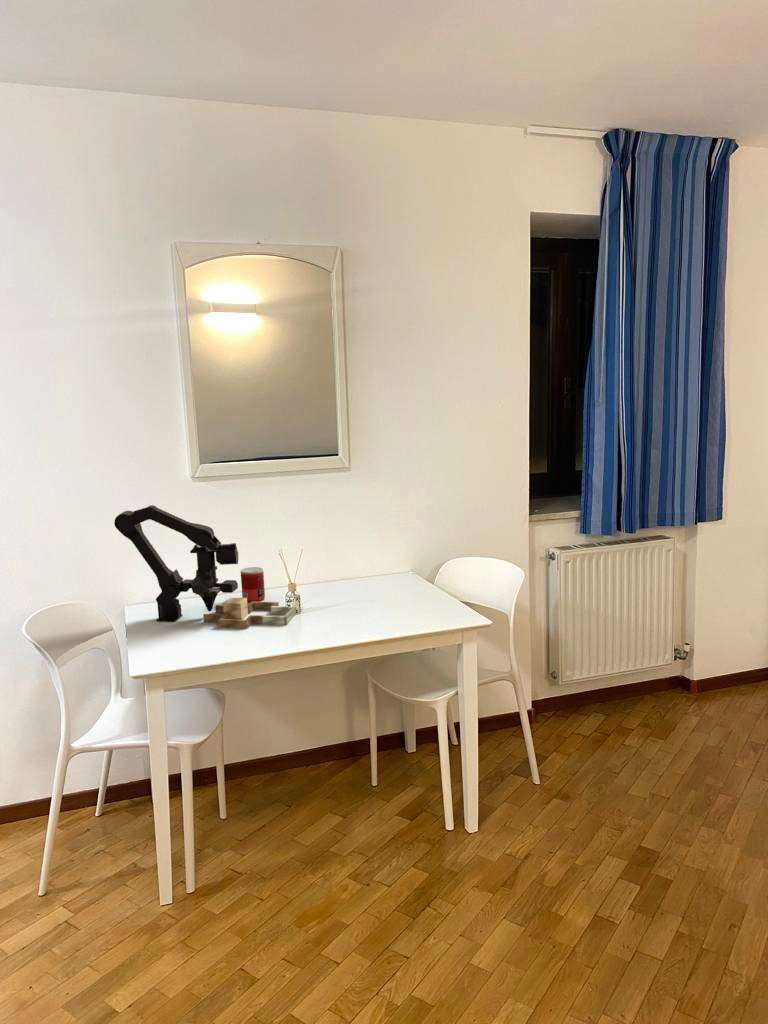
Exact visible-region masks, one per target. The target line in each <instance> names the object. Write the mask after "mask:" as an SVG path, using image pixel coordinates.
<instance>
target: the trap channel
mask: <svg viewBox="0 0 768 1024" xmlns="http://www.w3.org/2000/svg"><path fill="white" fill-rule="evenodd" d="M247 606H248V616H247V617H246V618H244V619H243V620H239V619H228V615H224V610H223V604H214V607H215V613H213V614H212V613H203V623H214V624H215V623H218V628H225V629H226V628H227V629H249V628H250V627H251V626H252V625H254V624H255V625H256V624H257V625H280V626H281V625H283V626H287V625H288V624H289V623H290V622H291V621H292V620H293V619H294V618H295V616H296V615H298V614H297V613H296V610H297V606H289V607H287V606H285V605H284V606H282V605H280V603H279V601H260V602H253V601H252V602H251V603H247ZM256 610H258V611H259V610H261V611H262V610H263V611H270V614H271V615H258V614H257V615H256V614H255V615H254V614H251V613H252V612H253V611H256Z"/></svg>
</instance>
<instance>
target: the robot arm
mask: <svg viewBox="0 0 768 1024" xmlns="http://www.w3.org/2000/svg"><path fill="white" fill-rule="evenodd" d="M149 520H151V521H153V522H155V523H158V524H159V525H162V526H165V527H166V528H168V529H171V530H173V531H175V532H178V533H180V534H181V535H183V536H185V537H186V538H187V539H188V540H189V541H190V542H192V543H193V544H195V545H194V546H193V548H192V549H191V550H190V551H189V553H190V554H196V562H197V563H196V564H197V569H196V570H195V571H196V572H195V574H196V575H195V577H193V579H189V578H188V579H187V578H186V579H184V578H183V577H182V576H181V574H180V573H179V571H178V569H175V570H171V569H170V568H169V567H168V566H167V565H166V563H165V562H164V560H163V559H162V557H161V556H160V555H159V553H158V552H157V551H156V549H155V547H154V546H153V545H152V543H151V542H150V540H149V539H148V538H147V537H146V535H145V533H144V531H143V527H142V524H141V523H143V522H146V521H149ZM113 525H114V527H115V528H116V530H117V531H119V533H120V534H121V535H122V536H124V537H125V538H127V539H128V540H129V541H130V542H131V543H132V544H133V545H134V547H135V548H136V550H137V551H138V552H139V554H140V555H141V557H142V558H143V559H144V560H145V562H146V564H147V565H148V566H149V568H150V570H152V572H153V573H154V575H155V577H156V579H157V583H158V586H159V588H160V590H161V592H160V593H159V594H158V595H157V596H156V598H155V601H156V604H157V614H158V618H157V619H156V622H171V623H172V622H176V621H177V620H179V619H180V618H182V617H183V613H182V605H181V603H180V599H177V597H179V596H180V594H181V593H188V591H189V590H190V589H191V590H192V593H193V594H195V595H197V596H198V597H200V598H201V600H202V601H203V603H204V606H205V607H206V610H207V612H212V611H213V607H214V606H215V601H216V598H217V596H218V594H219V593H220V592H222V593H224V594H225V593H226V594H228V593H229V594H231V593H232V594H233V593H234V592H235V591H237V589H238V588H239V583H238V582H237V580H234V579H231V580H230V579H226V580H224V581H223V582H219V578H218V577H217V570H218V566H216V563H217V564H219V565H220V566H221V565H222V566H223V565H238V564H239V551H238V547H237V543H236V542H232V543H226V544H225V543H222V542H221V541H220V540H219V539H218V538H217V537H216V535H215V531H214V529H213V528H212V527H210V526H208V525H204V524H200V523H195V522H190V521H187V520H186V519H183V518H181V517H178V516H176V515H175V514H171V513H170V512H167V511H166V510H163V509H161V508H158V506H156V505H152V504H151V505H148V506H146V507H143V508H140V509H139V508H138V509H137V510H134V511H132V510H125V511H123V512H121V513H120V514H118V515H116V517H115V518H114V523H113Z"/></svg>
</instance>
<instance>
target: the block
mask: <svg viewBox="0 0 768 1024" xmlns="http://www.w3.org/2000/svg"><path fill="white" fill-rule="evenodd" d="M222 605H223V610H224V613H223V614H224V615H228V619H239V620H245V619H246V618H247V617H249V614H248V606H247V605H248V602H247V598H242V597H229V598H227V599H226V600H225V601H224V602H223V603H222Z"/></svg>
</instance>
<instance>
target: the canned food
mask: <svg viewBox="0 0 768 1024" xmlns="http://www.w3.org/2000/svg"><path fill="white" fill-rule="evenodd" d="M264 573H265V572H264V569H263V567H260V566H259V567H258V566H251V567H245V568H242V569H241V570H240V581H241V582H240V583H241V596H242V597H241V598H247V604H250V603H251V602H252V601H253V602H264V601H265V597H266V594H265V593H266V592H265V591H266V590H265V574H264Z"/></svg>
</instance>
